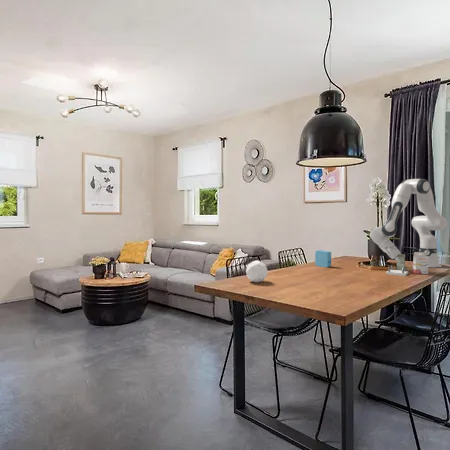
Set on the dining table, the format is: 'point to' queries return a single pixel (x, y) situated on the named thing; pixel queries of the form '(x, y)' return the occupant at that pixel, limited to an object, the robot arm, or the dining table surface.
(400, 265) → the sage spacer block
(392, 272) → the mounting plate
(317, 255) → the data package
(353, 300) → the dining table surface
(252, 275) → the geodesic sphere
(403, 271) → the standoff pins
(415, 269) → the ink cartridge box
